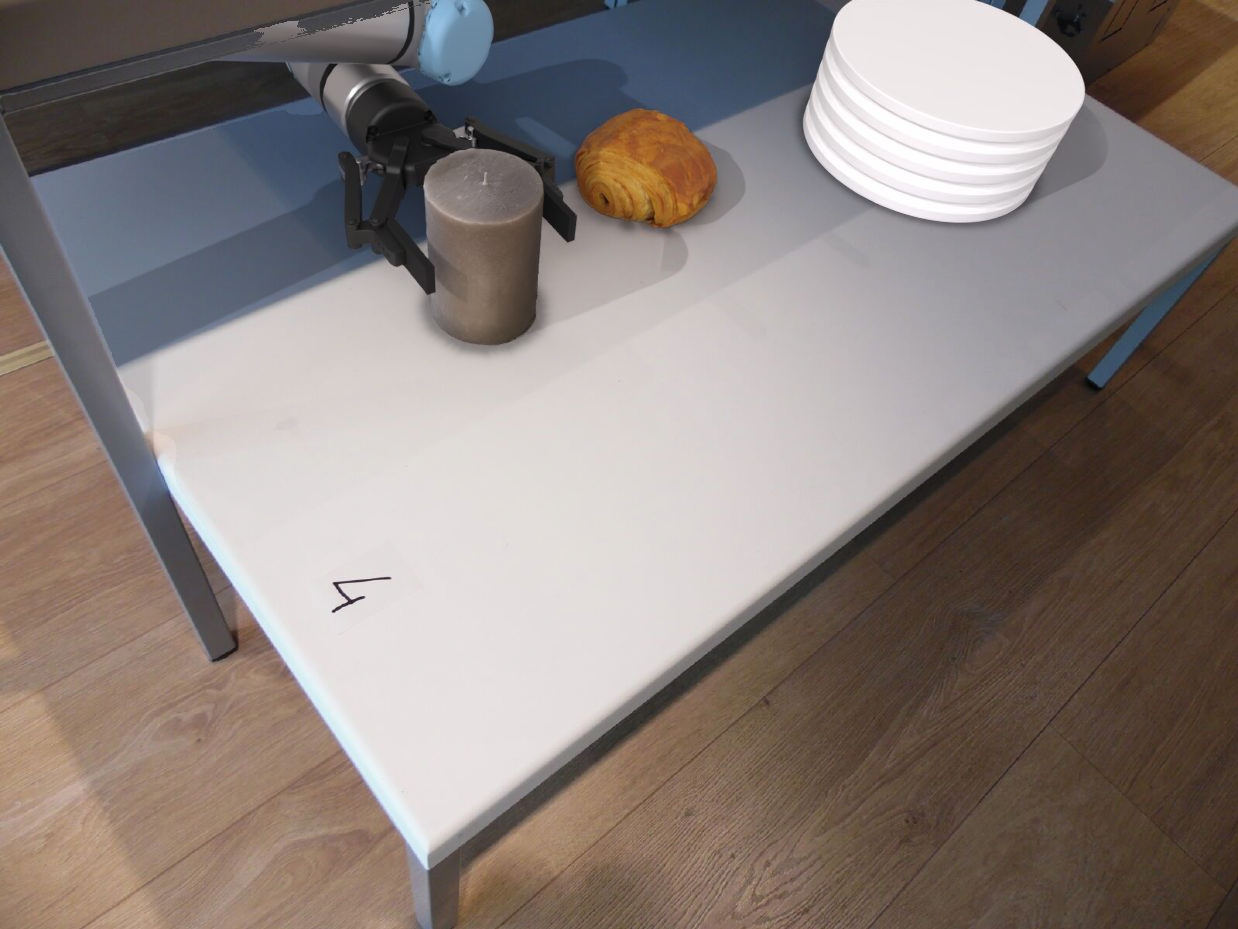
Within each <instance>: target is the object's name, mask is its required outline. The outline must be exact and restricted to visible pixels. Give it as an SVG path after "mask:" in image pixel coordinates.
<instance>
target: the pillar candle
mask: <svg viewBox="0 0 1238 929" xmlns="http://www.w3.org/2000/svg"><path fill="white" fill-rule="evenodd" d="M422 187H423V192H424V193H423V195H424V206H425V209H424V210H425V211H424V212H425V223H426V227H425V228H426V229H425V230H426V231H425V233H426V245H427V258H428V259H429V260H430V262H431V263H432V264H433V265H434V267H435V286H436V292H435V293H432V294H429V297H430V308H431V313H432V316H433V317H432V318H433V319H434V321H435V322H436V324H437V326H438V327H439V328H440V329H441V330H442V331H443V332H445V333H446V334H447V335H449V336H451V337H452V338H455V339H456V340H458V341H461V342H464V343H468V344H474V345H483V346H496V345H502V344H506V343H510V342H511V341H514V340H516V339H517V338H520V337H522V336H523V335H525V333H526V332H528V331H529V329H530V328H531V327H532V325H533V324H534V323H535V321H536V318H537V299H538V294H539V293H538V292H539V291H538V290H539V274H540V258H541V245H542V244H541V243H542V228H543V217H542V215H543V201H544V188H543V181H542V179H541V177H540V175H539V173H538V172H537V171H536V170H535V169H534V168H533V167H532V166H531V165H530V164H529V163H527V162H526V161H524V160H522V159H521V158H519V157H517V156H514V155H511V154H508V153H505V152H501V151H496V150H491V149H475V148H470V149H467V150H459V151H456V152H454V153H451V154H450V155H449V156H447V157H444V158H442V159H439V160H437V163H435V164H433V165H432V166H431V167H430V169H429V171H428V173H427V175H425V180H424V185H423V186H422Z"/></svg>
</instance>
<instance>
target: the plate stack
mask: <svg viewBox="0 0 1238 929" xmlns="http://www.w3.org/2000/svg"><path fill="white" fill-rule="evenodd" d="M1085 96H1086V86H1085V82H1084V79H1083V76H1082V74H1081V72H1080V69H1079V68H1078V66H1077V65H1076V63H1075V62H1074V60H1073V59H1072V58H1071V57H1070V56H1069V54H1068V53H1067V52H1066V51H1065V50H1064V49H1063V48H1062V47H1061V45H1059V44H1058V43H1057V42H1055V41H1054V40H1053V39H1052V38H1051V37H1049V36H1048V35H1047V34H1045V32H1043V31H1041V30H1040V29H1039V28H1037V27H1035V26H1033V25H1032V24H1030V23H1028V22H1027V21H1025V20H1023V19H1021V18H1019V17H1018V16H1015V15H1014V14H1011V13H1010V12H1007V11H1006V10H1003V9H1000V8H998V7H995V6H993V5H990V4H987V3H985V2H982V1H980V0H849V2H847V3H846V4H844V6H842V7H841V8H840V10H839V11H838V13H837V14H836V16H835V17H834V20H833V24H832V26H831V30H830V33H829V37H828V40H827V42H826V46H825V48H824V52H823V55H822V59H821V62H820V64H819V66H818V70H817V73H816V77H815V80H814V83H813V85H812V88H811V92H810V95H809V99H808V102H807V104H806V106H805V111H804V113H803V118H802V130H803V135H804V138H805V140H806V143H807V145H808V148H809V149H810V151H811V152H812V154H813V155H814V157H815V159H816V160H817V161H818V163H819V164H820V165H821V166H822V167H823V168H824V169H825V170H826V171H827V172H828V173H829V174H830V175H831V176H832V177H834V178H835V179H836V180H837V181H838V182H839V183H841V184H842V185H844V186H845V187H847V188H848V189H850V190H851V191H852V192H854V193H856V194H858V195H859V196H861V197H863V198H865V199H866V200H869V201H871V202H873V203H875V204H877V205H879V206H881V207H884V208H886V209H889V210H892V211H895V212H897V213H901V214H904V215H906V216H909V217H915V218H917V219H922V220H927V221H928V220H929V221H934V222H943V223H957V224H958V223H959V224H960V223H961V224H963V223H965V224H967V223H978V222H985V221H989V220H994V219H997V218H1000V217H1003V216H1006V215H1007V214H1009V213H1011V212H1014V211H1015V210H1016V209H1018V208H1019V207H1020V206H1021V205H1023V203H1024V202H1026V200H1027V199H1028V197H1029V195H1030V194H1031V192H1032V190H1033V189H1034V188H1035V185H1036V183H1037V181H1039V179H1040V177H1041V175H1042V174H1043V172H1044V170H1045V169H1046V167H1047V164H1048V163H1049V161H1051V159H1052V157H1053V155H1054V154H1055V152H1056V150H1057V148H1058V146H1059V144H1060V142H1061V141H1062V140H1063V138H1064V137H1065V135H1066V133H1067V132H1068V129H1069V128H1070V126H1071V124H1072V122H1073V121H1074V119H1075V118H1076V116H1077V114H1078V112H1079V111H1080V109H1081V108H1082V106H1083V103H1084V101H1085Z"/></svg>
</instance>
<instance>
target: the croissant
mask: <svg viewBox="0 0 1238 929" xmlns="http://www.w3.org/2000/svg"><path fill="white" fill-rule="evenodd" d="M574 156H575V157H574V164H573V165H574V168H575V174H576V184H577V188H578V189H579V193H580V194H581V196H582V198H583V199H584V200H585V202H586V203H587V204H588V205H589V206H590V207H591V208H592V209H594V210H595V211H596V212H598V213H599V214H601V215H606V216H609V217H611V218H615V219H623V220H624V221H625V222H626V223H627V222H628V220H629V221H633V222H634V223H637V222H638V223H639V222H640V223H641V222H644V221H646V225H648V226H650V227H653V228H655V229H656V228H657V229H659V228H663V229H664V228H666V229H667V228H669V227H670V226H673V225H677V224H682V223H683V222H685V221H687V220H690V219H691V218H693V216H695V215H696V214H697V213H698V212H699V211H701V210H702V208H704V207H705V206H706V204H708V202H709V199H710V196H711V194H712V193H713V192H714V188H715V185H717V184H718V171H717V167H716V164H715V162H714V160H713V157H712V154H711V152H710V150H709V149H708V147H707V146H706V145H705V144H704V143H703V142H702V141H700V139H699V138H698V137H697V136H696V135H694V134H693V132H691V131H690V130H689V128H688V127H687V126H686V124H685V123H684V122H683V121H681V120H679V119H677V118H674V117H672V116H670V115H668V114H666V113H661V112H660V110H657V109H653V110H650V109H644V108H643V107H639V108H632V109H630V110H627V111H626V112H622V113H619V114H616V115H614V116H612V117H611V118H609V119H607V120H606V121H605V122H604V123H603V124H602V125H599V126H598V127H597V128H595V129H594V130H593V131H592V132H590V133H589V134H587V135H586V136H585V138H584V139H583V140H582V142H581V143H580V145H579V147H578V149H577V151H576V152H575V155H574Z"/></svg>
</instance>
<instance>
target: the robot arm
mask: <svg viewBox="0 0 1238 929" xmlns="http://www.w3.org/2000/svg"><path fill="white" fill-rule="evenodd" d="M426 3H430V4H426ZM419 4H421V6H416V5H419ZM412 6H415V7H412ZM397 7H399V8H397ZM397 7H392V8H397V9H393V10H392V11H396V12H393V13H391V14H386V13H388V12H389V11H387V12H384V13H382V14H384V15H383V16H380V17H376V18H371V19H366V20H363V21H360V20H361V19H363V18H360V19H357V20H356V21H357V22H354V23H353V24H346V23H342V24H345V25H343V26H339V27H336V28H332V29H329V30H326V31H321V30H320V31H319V30H316V31H319V32H316V33H315V34H311V35H306V36H302V37H298V38H295V37H297V36H301V35H305V34H308V33H305V34H301V35H297V34H298V33H303V32H304V31H307V30H306V29H305V28H300V27H299V28H298V27H297V25H298V22H299V21H287V22H284V23H279V24H275V25H272V26H270V27H265V28H259V29H257V30H254V32H255V31H256V32H260V33H261V32H262V33H263V32H264V35H262V37H261V38H260V39H259V40H258V41H261V42H255V44H261V43H264V42H265V43H264V44H263V45H267V46H264V47H260V48H255V49H251V50H248V51H246V52H240V53H238V54H234V55H229V56H226V57H223V58H220V59H213V60H211V61H214V62H215V61H217V62H251V63H252V62H254V63H255V62H257V63H259V62H260V63H285V65H286V67H287V69H288V70H289V72H290V73H291V74H292V75H293V78H294V79H295V80H296V81H297V82H298V83H299V84H300V85H301V87H303V88H304V89H305V90H306V91H307V92H308V94H309V95H310V96H311V97H312V98H313V99H314V101H316V103H317V104H318V105H319V106H320V107H321V108H322V109H323V111H324V112H325V113H326V114H327V115H328V116H329V118H330V119H331V120H332V122H334V123H335V125H336V126H337V127H338V129H339V130H340V131H341V132H342V133H343V134H344V135H345V137H346V138H347V139H348V140H349V141H350V143H351V144H352V145H353V147H354V149H356V151H357V152H358V153H359V154H360V155H361V156H357V157H354V155H353V154H352V153H351V152H350V151H347V150H346V151H345V150H344V151H340V152H339V153H337V159H338V160H337V161H338V169H339V175H340V181H341V182H342V184H343V186H344V213H343V214H344V218H343V219H344V220H343V222H344V230H345V236H346V243H347V247H348V248H349V249H350V250H355V251H356V250H360V249H362V247H363V245H369V244H370V245H371V251H372V253H373V254H375V255H379V256H380V255H383V257H384V258H385V259H386V260H387V262H388V263H389V265H391V266H392V267H394V268H397V267H401V266H403V267H404V268H405V269H406V270H407V272H408V273H409V274H410V275H411V277H412V278H413V279H414V280H415V281H416V283H417V284H418V286H419V287H420V288H421V290H423V292H424V293H425V294H426V295H427V296H430V294H432V293H435V292H436V286H435V267H434V265H433V264H432V263H431V262H430V260H429V259H428V256H426V254H425V253H424V252H423V251H422V250H421V248H420V247H419V246H418V244H416V242H415V241H414V239H412V237H411V235H409V234H408V232H407V231H406V230H405V229H404V227H402V225H401V224H400V223H399V221H398V220H397V219H396V216H397V213H398V210H399V208H400V205H401V203H402V200H404V199H405V196H406V193H407V190H408V187H409V186H415V187H416V188H419V187H423V186H424V180H425V175H427V173H428V171H429V169H430V167H431V166H432V165H433V164H435V163H437V160H439V159H442V158H444V157H447V156H449V155H450V154H451V153H454V152H456V151H459V150H467V149H470V148H475V149H491V150H496V151H501V152H505V153H508V154H511V155H514V156H517V157H519V158H521V159H522V160H524V161H526V162H527V163H529V164H530V165H531V166H532V167H533V168H534V169H535V170H536V171H537V172H538V173H539V175H540V177H541V179H542V181H543V188H544V201H543V215H542V219H544V220H545V221H546V222H547V223H548V225H549V226H551V227H552V229H553V230H554V231H555V232H556V233H557V234H558V235H559V236H560V237H561V239H563V240H564V241H565V243H567V244H569V243H571V242H573V241H575V239H576V231H577V221H578V215H577V213H576V212H575V211H573V209H572V208H571V207H570V206H569V205H568V204H567V202H565V201H564V197H565V195H564V192H563V191H562V190H561V189H560V188H559V186H558V185H556V184H555V177H556V176H555V175H556V164H557V158H556V156H555V155H553V154H551V153H549V152H547V151H544V150H542V149H539V148H537V147H535V146H533V145H531V144H528V143H526V142H523V141H521V140H519V139H516V138H514V137H512V136H510V135H508V134H505V133H503V132H501V131H498V130H495V129H494V128H492V127H489V126H488V125H486V124H485V123H483V121H481V120H480V119H479V118H477V116H475V115H467V116H465V117H464V125H463V126H461V127H458V128H455V129H452V128H450V127H447V126H446V125H443V124H442V123H440V121H439V120H438V118H437V117H436V115H435V113H434V111H433V110H432V108H431V107H430V106H429V104H427V102H425V101H424V100H423V99H422V97H421V96H420V95H419V94H418V93H417V92H416V91H415V89H413V87H411V85H410V84H409V82H408V81H407V80H405V78H404V77H403V76H402V75H401V74H400V73H399V72H398V71H397V70H395V68H394V67H393V66H401V67H404V66H405V67H410V68H413V69H416V70H418V71H419V72H420V74H422V75H423V76H424V77H426V78H427V79H432V80H434V81H436V82H438V83H439V84H442V85H444V86H449V87H450V86H451V87H455V86H459V85H460V86H461V85H463V84H465V83H466V82H468V81H470V80H471V79H473V78H474V77H475V76H476V75H477V74H478V73H479V71H480V70H482V68H483V67H484V64H485V63H486V61H487V59H488V57H489V54H490V49H491V46H492V42H493V40H494V32H495V31H494V20H493V16H492V12H491V10H490V8H489V6H488V5H487V3H486V2H485V1H484V0H429V1H425V2H424V3H422V2H419V0H413V1H411V2H407V3H406V4H401V5H399V6H397ZM408 7H411V8H408ZM404 8H407V9H404ZM401 9H404V10H401ZM398 10H401V11H398ZM392 11H390V12H392ZM375 16H376V15H375ZM349 19H352V18H349ZM350 22H352V21H348V23H350ZM334 26H337V25H334ZM332 27H333V26H332ZM303 29H304V31H303ZM323 29H325V28H323ZM301 30H302V31H301ZM291 35H292V36H291ZM289 38H294V39H289ZM288 39H289V40H288ZM284 40H286V41H285V42H281V41H284ZM275 42H277V43H276V44H271V43H275ZM269 44H271V45H269ZM263 45H258V46H263ZM247 46H251V45H247ZM258 46H254V47H258ZM250 48H251V47H250ZM247 49H249V48H247ZM369 172H371V173H372V174H374V175H375V176H378V177H381V178H383V180H382V181H381V185H380V188H379V190H378V193H377V195H376V198H375V200H374V203H373V207H372V208H371V212H370V215H369V217H368V220H367V219H366V220H365V219H363V188H362V186H364V185H365V181H366V180H367V178H368V173H369Z"/></svg>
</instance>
